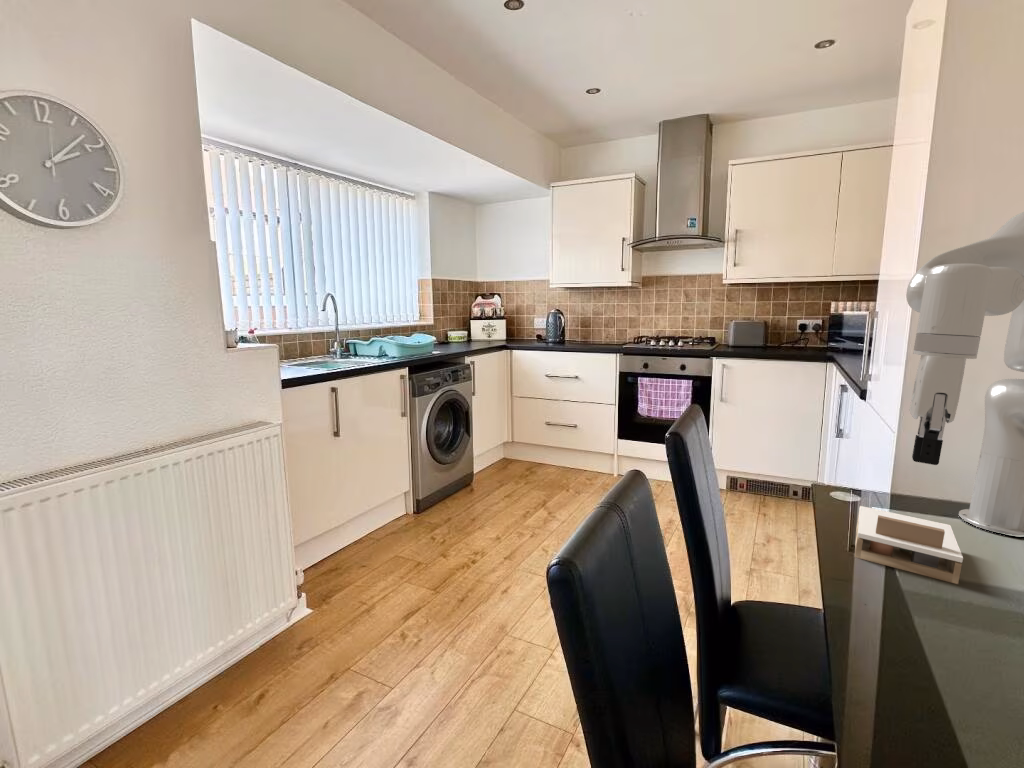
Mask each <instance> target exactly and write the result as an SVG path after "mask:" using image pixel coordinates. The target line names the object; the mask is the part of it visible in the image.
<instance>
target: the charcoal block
mask: <svg viewBox="0 0 1024 768" xmlns="http://www.w3.org/2000/svg"><path fill="white" fill-rule="evenodd" d="M911 562H914V563H918V564H922V565H926V566H930V567H934V568H937V567H938V562H939V557H937V556H933V555H928V554H924V553H920V552H916V551H913V552H912V557H911Z"/></svg>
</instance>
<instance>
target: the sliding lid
mask: <svg viewBox="0 0 1024 768" xmlns="http://www.w3.org/2000/svg"><path fill="white" fill-rule="evenodd" d="M858 510H859V511H858V514H859V524H858V537H859V538H863V539H867V540H871V541H875V542H879V543H883V544H887V545H892V546H896V547H900V548H904V549H908V550H912V551H916V552H920V553H924V554H928V555H933V556H937V557H941V558H945V559H949V560H953V561H957V562H961V563H962V564H963V560H964V557H963V553H962V551H961V549H960V547H959V544H958V542H957V539H956V536H955V534H954V531H953V529H952V526H951V524H947V523H941V522H937V521H933V520H929V519H924V518H919V517H914V516H909V515H905V514H901V513H895V512H892V511H886V510H882V509H881V510H880V509H878V508H877V509H876V508H872V507H867V506H863V505H859V509H858Z"/></svg>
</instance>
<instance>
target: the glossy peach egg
mask: <svg viewBox="0 0 1024 768" xmlns="http://www.w3.org/2000/svg"><path fill="white" fill-rule="evenodd" d="M893 549H894V546H892V545H887V544H883V543H879V542H875V541H871V542H870V548H869V551H871V552H875V553H878V554H882V555H886V556H890V557H892V555H893Z"/></svg>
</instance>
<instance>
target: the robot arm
mask: <svg viewBox="0 0 1024 768" xmlns="http://www.w3.org/2000/svg"><path fill="white" fill-rule="evenodd" d="M905 293H906V294H905V295H906V301H907V305H908V306H909V307H910V309H912V310H913V311H914V312H917V313H918V314H919V316H918V322H917V329H916V334H915V339H914V345H913V353H912V354H913V355H917V356H920V358H919V362H918V365H917V368H916V374H915V379H914V384H913V390H912V395H911V399H910V405H909V409H908V410H909V411H908V412H909V414H910V415H911V417H912V418H913V419H915V420H918V418H919V423H918V430H917V434H916V435H915V439H914V445H913V450H912V455H911V456H912V457H911V458H912V461H913V462H916V463H921V464H927V465H932V466H937V465H939V463H940V458H941V452H942V448H943V444H944V443H943V442H944V440H943V438H944V437H943V436H944V431H945V426H946V424H950V423H952V422H954V421H955V417H956V414H957V411H958V406H959V402H960V396H961V392H962V386H963V381H964V380H963V379H964V375H965V369H966V361H967V359H969V360H975V359H977V358H978V354H979V353H978V352H979V348H980V342H981V336H982V331H983V327H984V321H985V317H993V316H994V317H995V316H1003V315H1006V314H1009V313H1011V316H1010V321H1009V326H1008V330H1007V335H1006V340H1005V344H1004V351H1003V362H1004V365H1005V366H1006V367H1007V368H1008V369H1010V370H1013V371H1016V372H1020V373H1021V372H1022V373H1024V211H1023V212H1020V213H1018V214H1016V215H1015V216H1012V217H1011V218H1010V219H1008V221H1006V222H1004V224H1003V225H1001V227H1000V228H999V229H998V230H997V231H995V233H993V234H992V235H991V236H990V237H989V238H985V239H982V240H979V241H975V242H973V243H972V242H971V243H970V244H966V245H964V246H960V247H956V248H954V249H951V250H948V251H945V252H942V253H940V254H937V255H935V256H934V257H932V258H930V259H929V260H928V261H926V262H925V263H924V264H923V265H922V266H921V267H920V268H919V269H918V270H916V272H915V273H914V275H913V276H912V277H911V279H910V281H909V282H908V284H907V288H906V292H905ZM983 429H984V430H983V436H982V443H981V448H980V453H979V457H978V461H977V462H978V463H977V466H976V467H977V468H976V473H975V478H974V483H973V488H972V494H971V498H970V499H971V500H970V504H969V508H965V509H961V510H959V511H958V515H959V516H960V517H961V518H962V519H964V520H965V521H967V522H969V523H970V524H973V525H975V526H976V527H975V528H977V527H980V528H984V529H988V530H991V531H994V532H999V533H1005V534H1012V535H1024V378H1004V379H999V380H997V381H994V382H993V383H991V384H990V385H989V386H988V388H987V389H986V391H985V395H984V428H983ZM959 516H958V517H959ZM970 524H969V525H970ZM980 528H979V529H980Z"/></svg>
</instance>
